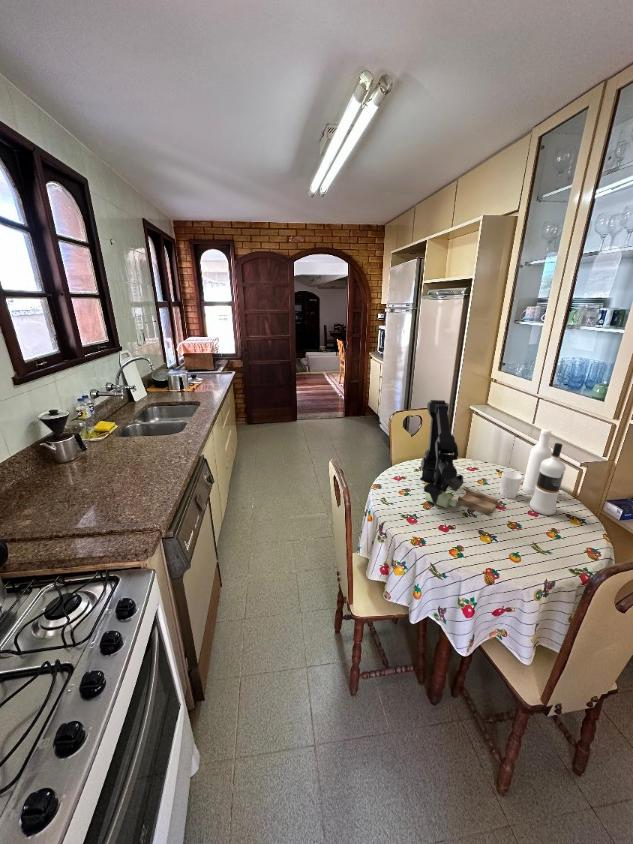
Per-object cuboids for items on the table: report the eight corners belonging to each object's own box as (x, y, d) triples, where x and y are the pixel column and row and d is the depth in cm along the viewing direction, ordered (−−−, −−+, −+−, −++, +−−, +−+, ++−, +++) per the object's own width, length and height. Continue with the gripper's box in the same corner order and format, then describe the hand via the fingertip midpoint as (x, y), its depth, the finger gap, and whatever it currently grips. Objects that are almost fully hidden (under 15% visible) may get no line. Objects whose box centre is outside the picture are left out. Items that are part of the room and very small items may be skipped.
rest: (457, 503, 149) (458, 497, 148) (466, 494, 156) (467, 488, 155) (488, 515, 140) (489, 509, 139) (497, 505, 148) (498, 499, 147)
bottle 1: (424, 502, 150) (426, 490, 148) (431, 496, 154) (432, 485, 152) (454, 514, 141) (457, 502, 139) (460, 508, 145) (463, 496, 143)
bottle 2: (545, 495, 155) (561, 433, 145) (527, 495, 155) (542, 433, 145) (535, 486, 163) (550, 426, 153) (518, 486, 163) (532, 426, 153)
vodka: (535, 501, 151) (551, 437, 141) (559, 511, 144) (577, 445, 134) (524, 507, 146) (540, 442, 136) (548, 518, 139) (566, 450, 129)
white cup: (516, 501, 151) (520, 481, 147) (496, 495, 155) (500, 475, 152) (519, 493, 157) (523, 474, 153) (500, 488, 161) (504, 469, 158)
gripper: (452, 482, 131) (446, 517, 137) (471, 466, 144) (465, 499, 149) (425, 472, 139) (421, 506, 144) (445, 458, 151) (440, 489, 157)
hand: (438, 500), depth 148 cm, fingers closed on bottle 1, 6 cm apart
